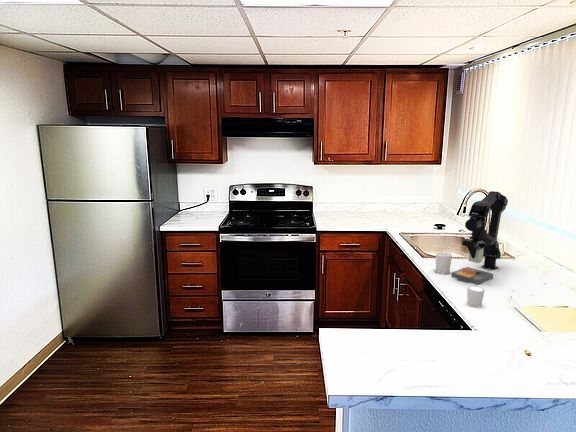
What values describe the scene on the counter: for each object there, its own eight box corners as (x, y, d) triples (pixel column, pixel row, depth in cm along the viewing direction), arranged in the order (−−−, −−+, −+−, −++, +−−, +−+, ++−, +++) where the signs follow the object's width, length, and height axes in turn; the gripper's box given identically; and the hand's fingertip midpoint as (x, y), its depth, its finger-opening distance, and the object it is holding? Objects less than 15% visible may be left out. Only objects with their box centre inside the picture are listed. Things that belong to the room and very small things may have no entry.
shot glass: (462, 300, 178) (464, 285, 176) (477, 300, 178) (479, 285, 177) (471, 307, 171) (472, 291, 170) (486, 306, 172) (488, 291, 170)
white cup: (451, 275, 210) (453, 256, 208) (435, 274, 212) (437, 255, 210) (448, 270, 218) (450, 252, 216) (433, 269, 220) (434, 251, 218)
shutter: (462, 271, 207) (463, 267, 206) (475, 275, 201) (476, 270, 201) (456, 274, 203) (456, 269, 203) (469, 278, 198) (469, 273, 197)
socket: (467, 271, 217) (467, 266, 216) (493, 278, 206) (493, 273, 205) (451, 276, 208) (451, 272, 207) (477, 284, 197) (478, 280, 196)
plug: (472, 259, 209) (474, 242, 207) (482, 261, 205) (484, 244, 203) (468, 260, 207) (470, 243, 205) (477, 263, 203) (479, 246, 201)
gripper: (484, 233, 191) (481, 264, 194) (504, 227, 202) (500, 257, 205) (462, 228, 199) (459, 259, 202) (482, 224, 210) (479, 252, 213)
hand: (475, 257), depth 206 cm, fingers closed on plug, 4 cm apart
